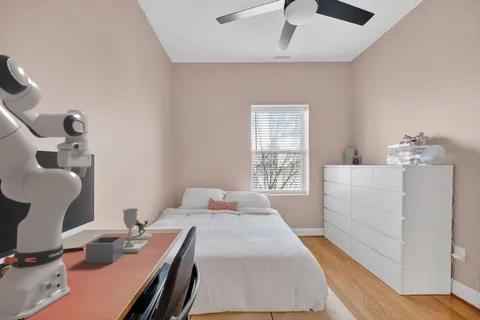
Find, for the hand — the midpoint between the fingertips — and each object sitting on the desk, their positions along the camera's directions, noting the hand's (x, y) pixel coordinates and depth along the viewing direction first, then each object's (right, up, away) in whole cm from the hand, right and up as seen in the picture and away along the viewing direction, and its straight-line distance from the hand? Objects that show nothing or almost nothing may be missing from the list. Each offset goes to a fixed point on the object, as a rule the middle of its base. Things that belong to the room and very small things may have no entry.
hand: (75, 177), depth 115 cm
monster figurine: (+17, -37, +32) cm, 51 cm away
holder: (+16, -35, -5) cm, 39 cm away
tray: (+20, -36, +10) cm, 42 cm away
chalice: (+20, -35, +10) cm, 41 cm away
